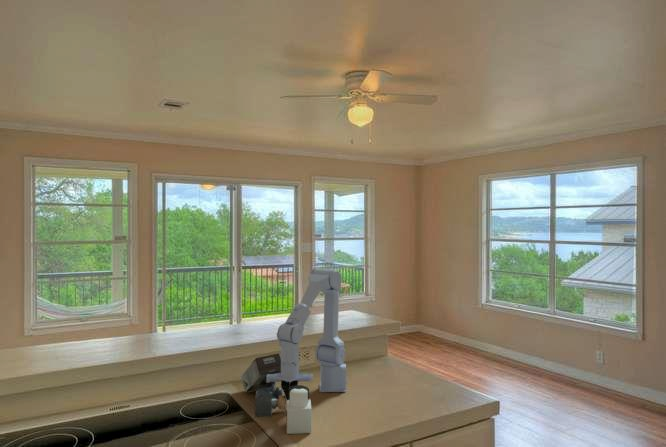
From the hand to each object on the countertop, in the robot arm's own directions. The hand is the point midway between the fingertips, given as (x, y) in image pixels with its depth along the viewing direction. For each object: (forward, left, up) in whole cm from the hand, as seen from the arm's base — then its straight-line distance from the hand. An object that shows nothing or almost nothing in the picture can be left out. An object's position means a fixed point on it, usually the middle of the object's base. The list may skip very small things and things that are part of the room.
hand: (289, 404), depth 144 cm
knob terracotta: (+6, 0, -1) cm, 6 cm away
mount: (+8, -4, -2) cm, 9 cm away
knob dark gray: (+7, -7, -1) cm, 10 cm away
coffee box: (+14, -20, 0) cm, 24 cm away
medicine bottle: (-4, +11, -3) cm, 12 cm away
